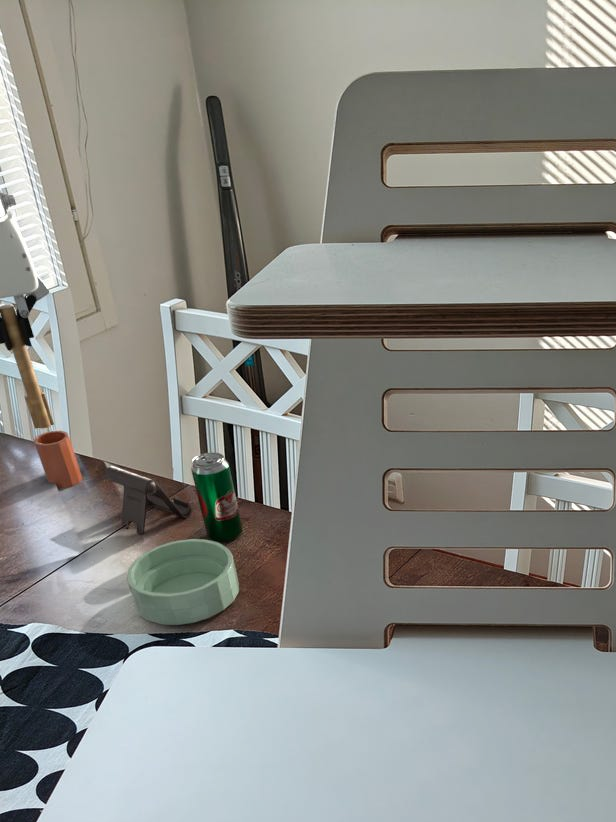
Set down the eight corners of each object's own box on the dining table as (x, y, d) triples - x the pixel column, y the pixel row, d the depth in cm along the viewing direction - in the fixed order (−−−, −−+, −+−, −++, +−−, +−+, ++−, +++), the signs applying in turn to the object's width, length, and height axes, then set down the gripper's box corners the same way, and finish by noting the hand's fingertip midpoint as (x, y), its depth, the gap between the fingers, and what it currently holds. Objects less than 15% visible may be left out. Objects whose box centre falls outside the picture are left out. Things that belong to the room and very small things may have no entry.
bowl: (151, 640, 121) (140, 608, 118) (126, 589, 130) (116, 557, 127) (253, 607, 126) (246, 575, 123) (222, 560, 135) (215, 529, 132)
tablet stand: (193, 515, 145) (181, 464, 140) (153, 539, 140) (138, 487, 135) (153, 500, 149) (139, 450, 144) (112, 523, 144) (96, 472, 139)
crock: (53, 495, 152) (36, 448, 147) (47, 481, 156) (31, 435, 151) (85, 486, 154) (70, 439, 149) (79, 473, 157) (64, 427, 153)
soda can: (226, 547, 138) (208, 471, 130) (200, 538, 140) (181, 463, 133) (250, 531, 141) (234, 455, 134) (224, 522, 143) (208, 447, 136)
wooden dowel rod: (35, 430, 147) (-4, 310, 136) (33, 425, 148) (-6, 306, 138) (55, 426, 148) (17, 306, 137) (52, 421, 149) (15, 302, 139)
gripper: (32, 195, 135) (70, 327, 146) (-93, 212, 129) (-44, 349, 140) (41, 206, 130) (80, 342, 141) (-89, 224, 124) (-38, 365, 135)
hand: (18, 344), depth 141 cm, fingers closed on wooden dowel rod, 2 cm apart
